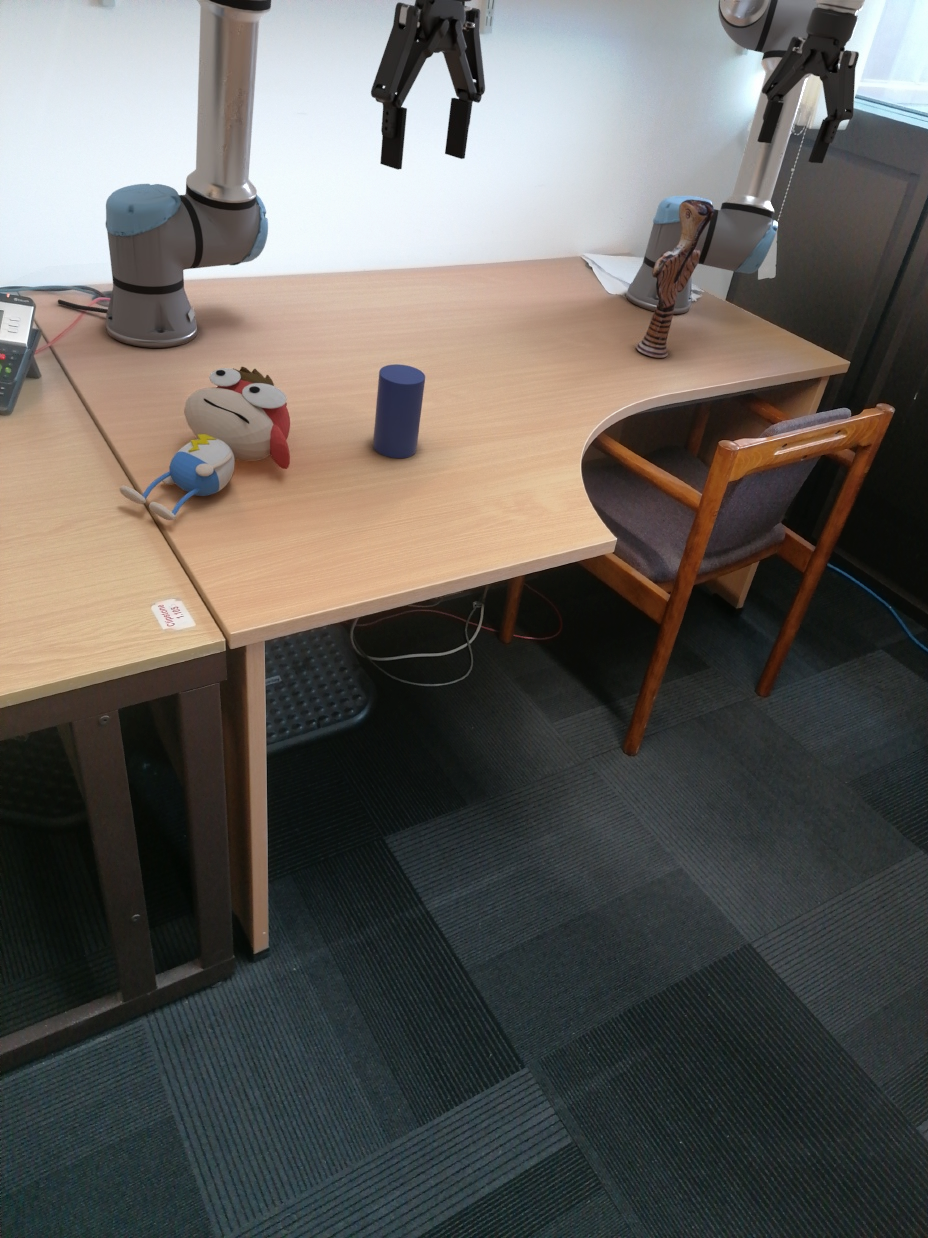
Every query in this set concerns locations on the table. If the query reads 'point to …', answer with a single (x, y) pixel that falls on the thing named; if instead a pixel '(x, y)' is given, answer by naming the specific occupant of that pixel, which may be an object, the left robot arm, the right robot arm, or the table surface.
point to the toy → (225, 435)
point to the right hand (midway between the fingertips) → (788, 151)
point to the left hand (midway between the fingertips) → (424, 161)
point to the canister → (398, 410)
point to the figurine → (675, 274)
